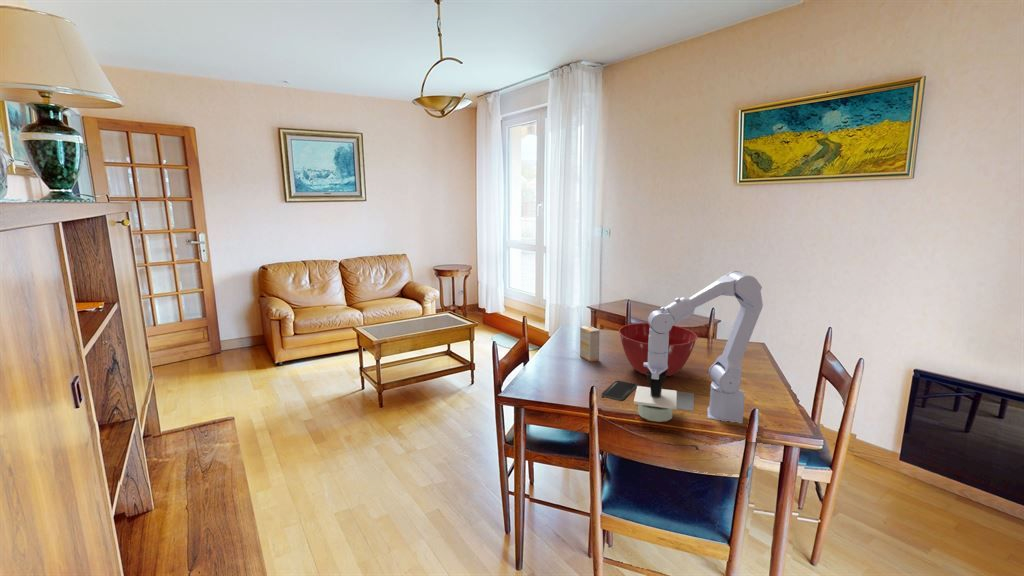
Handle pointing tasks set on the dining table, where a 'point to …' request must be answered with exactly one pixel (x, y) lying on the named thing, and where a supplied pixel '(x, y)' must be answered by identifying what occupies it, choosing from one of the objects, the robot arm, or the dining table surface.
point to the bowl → (655, 413)
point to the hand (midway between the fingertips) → (656, 393)
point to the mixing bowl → (637, 346)
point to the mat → (685, 401)
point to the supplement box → (589, 343)
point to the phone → (619, 390)
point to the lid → (655, 398)
